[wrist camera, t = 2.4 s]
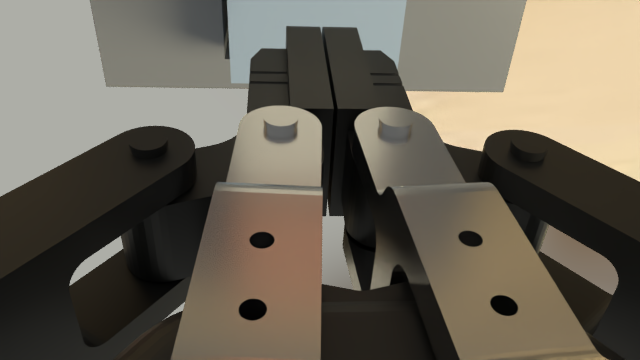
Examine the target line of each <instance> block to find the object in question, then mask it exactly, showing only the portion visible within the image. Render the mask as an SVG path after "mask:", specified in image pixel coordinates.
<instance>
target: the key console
mask: <svg viewBox="0 0 640 360" xmlns="http://www.w3.org/2000/svg"><path fill="white" fill-rule="evenodd" d="M526 1H527V0H407V2H406V9H405V17H404V24H403V32H402V39H401V47H400V55H399V62H398V73H399V76H400V78H401V81H402V83H403V84H402V86H404V89H405V91H451V92H503V91H504V87H505V83H506V79H507V75H508V71H509V67H510V63H511V59H512V56H513V52H514V48H515V44H516V40H517V36H518V32H519V28H520V24H521V20H522V16H523V12H524V9H525V5H526ZM90 3H91V8H92V14H93V19H94V24H95V29H96V35H97V40H98V45H99V50H100V55H101V61H102V66H103V71H104V77H105V82H106V86H107V87H170V88H172V87H173V88H240V89H245V88H246V89H249V84H247V83H231V71H230V51H229V31H228V11H227V0H90Z"/></svg>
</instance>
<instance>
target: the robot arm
mask: <svg viewBox="0 0 640 360" xmlns="http://www.w3.org/2000/svg"><path fill="white" fill-rule="evenodd" d="M402 84H403V83H402V81H401V78H400V76H399V73H398V70H397V67H396V65H395V62H394V61H393V60H392V59H391V58H389V57H388V56H387V55H386V54H384V53H383V52H382V51H381V50H363V47H362V43H361V40H360V36H359V33H358V30H357V28H356V27H322V33H321V28H320V27H312V26H286V49H276V48H261V49H260V50H259V51H258V52H257V53H256V54H255V55H254V56H253V57H252V58H251V61H250V76H249V91H248V106H247V114H246V115H245V116H244V117H243V118H242V120H241V121H240V124H239V128H238V132H237V135H236V136H235V137H233V138H232V139H230V140H227V141H225V142H223V143H219V144H216V145H212V146H207V147H201V148H196V149H195V144H194V141H193V140H192V138H191V137H190V136H189V135H187V134H186V133H184V132H183V131H180V130H178V129H175V128H171V127H165V126H146V127H139V128H135V129H131V130H129V131H126V132H123V133H121V134H119V135H117V136H115V137H113V138H111V139H109V140H107V141H106V142H104V143H102V144H100V145H98V146H96V147H94V148H92V149H90V150H88V151H87V152H85V153H83V154H81V155H79V156H77V157H75V158H73V159H71V160H69V161H67V162H65V163H64V164H62V165H60V166H58V167H56V168H54V169H52V170H50V171H48V172H47V173H45V174H43V175H41V176H39V177H37V178H35V179H33V180H31V181H29V182H27V183H26V184H24V185H22V186H20V187H18V188H16V189H14V190H12V191H10V192H9V193H6V194H5V195H3V196H1V197H0V360H640V182H639V181H637V180H635V179H633V178H631V177H629V176H627V175H624V174H622V173H620V172H618V171H616V170H614V169H612V168H610V167H608V166H606V165H604V164H602V163H600V162H598V161H596V160H593V159H591V158H589V157H587V156H585V155H583V154H581V153H579V152H577V151H575V150H573V149H571V148H569V147H567V146H565V145H562V144H560V143H558V142H556V141H554V140H552V139H550V138H548V137H545V136H543V135H540V134H537V133H533V132H529V131H523V130H505V131H500V132H496V133H494V134H492V135H490V136H489V137H488V138H487V139H486V141H485V144H484V148H483V152H481V151H476V150H471V149H466V148H461V147H456V146H452V145H449V144H446V143H443V141H442V139H441V137H440V136H439V134H438V132H437V130H436V128H435V127H434V125H433V124H432V122H431V121H430V120H429V119H427V118H426V117H424V116H423V115H421V114H419V113H417V112H414V111H413V110H412V107H411V105H410V102H409V99H408V97H407V94H406V91H405V89H404V86H402ZM327 199H328V207H329V215H330V216H344V221H345V226H344V237H343V249H344V254H345V258H346V262H347V266H348V270H349V274H350V278H351V282H352V286H353V290H351V289H346V288H340V287H335V286H329V285H324V284H321V283H322V216H326V209H327ZM549 225H551V226H553V227H554V228H556V229H558V230H559V231H561V232H563V233H565V234H567V235H568V236H570V237H572V238H574V239H575V240H577V241H579V242H580V243H582V244H584V245H585V246H587V247H589V248H591V249H593V250H594V251H596V252H598V253H599V254H601V255H602V256H604V257H605V258H607V259H608V260H609V261H610V262H611V263H612V264H613V266H614V267H615V269H616V271H617V274H618V277H619V282H618V286H617V288H616V290H615V293H614V294H613V295H611V294H609V293H607V292H605V291H604V290H602V289H601V288H599V287H597V286H596V285H594V284H592V283H591V282H589V281H587V280H586V279H584V278H583V277H581V276H579V275H578V274H576V273H574V272H573V271H571V270H570V269H568V268H566V267H565V266H563V265H562V264H560V263H558V262H557V261H555V260H553V259H551V258H550V257H548V256H547V255H545V254H544V253H542V252H540V249H541V246H542V243H543V240H544V238H545V235H546V232H547V230H548V227H549ZM119 236H121V239H122V243H123V248H124V249H122V250H121V251H119V252H118V253H117V254H115V255H114V256H112V257H111V258H109V259H108V260H107V261H105V262H104V263H102V264H101V265H99V266H98V267H96V268H95V269H93V270H92V271H91V272H89V273H88V274H86V275H85V276H83V277H82V278H80V279H79V280H78V281H76V282H75V283H73V284H72V285H70V286H69V284H70V280H71V277H72V275H73V273H74V271H75V270H76V268H77V267H78V266H79V265H80V264H81V263H82V262H83V261H84V260H85V259H87V258H88V257H90V256H91V255H92V254H94V253H96V252H97V251H99V250H100V249H102V248H103V247H105V246H106V245H107V244H109V243H110V242H112V241H113V240H115V239H116V238H118V237H119ZM184 302H185V305H184V309H183V311H181V312H179V313H176V314H174V315H172V316H170V317H168V318H166V317H167V316H168V315H169V314H171V313H172V312H173V311H174V310H175V309H176V308H178V307H179V306H180V305H181V304H182V303H184ZM165 318H166V319H165ZM164 319H165V320H164ZM162 320H163V321H162Z"/></svg>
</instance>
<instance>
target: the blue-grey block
mask: <svg viewBox="0 0 640 360" xmlns="http://www.w3.org/2000/svg"><path fill="white" fill-rule="evenodd" d="M406 2H407V0H227V11H228V31H229V51H230V71H231V83H247V84H249V76H250V61H251V58H252V57H253V56H254V55H255V54H256V53H257V52H258V51H259V50H260V49H261V48H276V49H286V26H312V27H320V28H321V33H322V27H356V28H357V30H358V33H359V36H360V40H361V43H362V47H363V50H381V51H382V52H383V53H384V54H386V55H387V56H388V57H389V58H391V59H392V60H393V61H394V62H395V65H396V67H397V70H398V62H399V55H400V47H401V39H402V32H403V24H404V17H405V9H406Z"/></svg>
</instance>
